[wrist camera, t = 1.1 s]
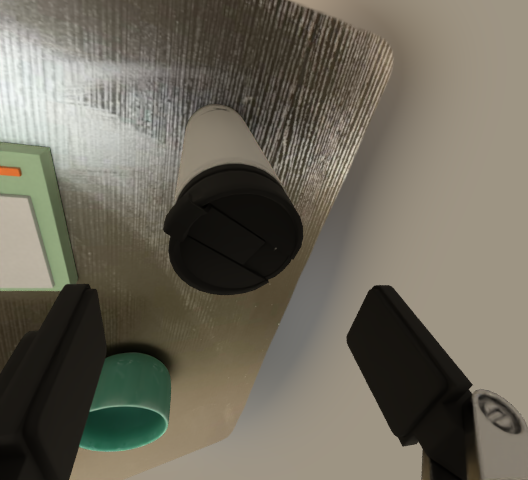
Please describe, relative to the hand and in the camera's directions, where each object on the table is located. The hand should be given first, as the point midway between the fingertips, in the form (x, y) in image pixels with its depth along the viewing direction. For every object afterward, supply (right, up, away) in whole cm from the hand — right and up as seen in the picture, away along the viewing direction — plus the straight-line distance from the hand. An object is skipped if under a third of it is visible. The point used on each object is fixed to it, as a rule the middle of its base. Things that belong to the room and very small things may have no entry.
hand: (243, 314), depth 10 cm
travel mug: (-4, +13, +19) cm, 23 cm away
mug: (-22, -17, +35) cm, 45 cm away
